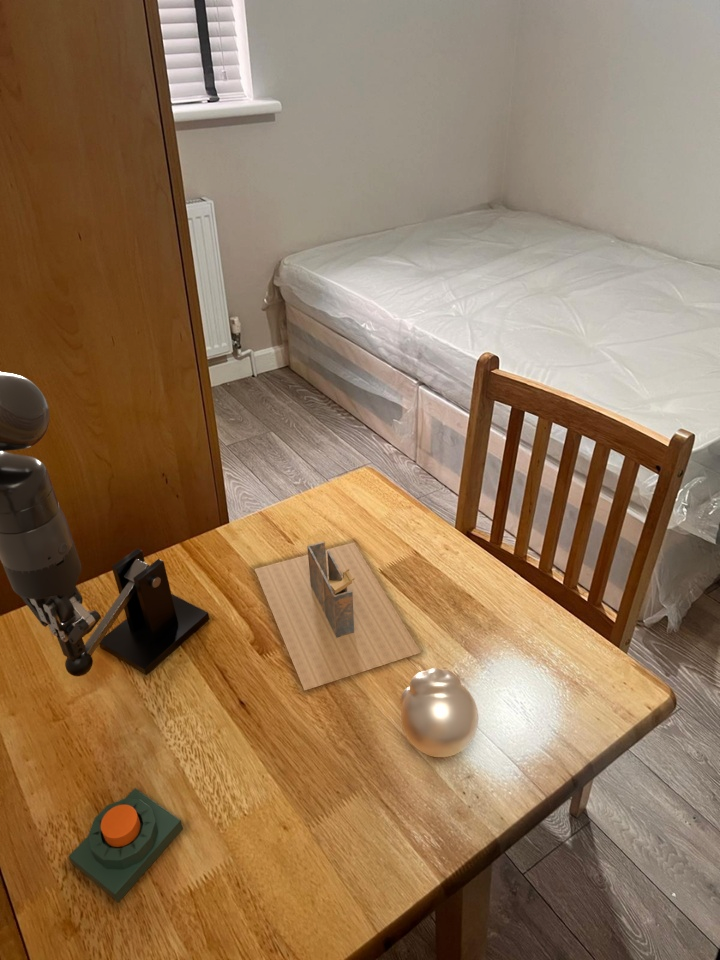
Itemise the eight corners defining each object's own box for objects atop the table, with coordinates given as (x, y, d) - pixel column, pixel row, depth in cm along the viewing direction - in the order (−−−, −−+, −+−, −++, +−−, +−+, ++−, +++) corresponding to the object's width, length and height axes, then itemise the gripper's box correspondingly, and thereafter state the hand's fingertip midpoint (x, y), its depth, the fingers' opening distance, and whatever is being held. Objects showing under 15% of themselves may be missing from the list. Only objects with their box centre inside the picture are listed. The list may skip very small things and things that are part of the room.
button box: (118, 903, 72) (110, 885, 70) (72, 864, 75) (63, 846, 73) (183, 828, 78) (178, 810, 76) (138, 796, 81) (131, 777, 79)
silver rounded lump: (475, 707, 90) (480, 651, 84) (476, 776, 82) (482, 720, 77) (401, 701, 91) (402, 646, 85) (396, 769, 83) (396, 713, 78)
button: (121, 854, 73) (117, 844, 72) (96, 835, 74) (92, 826, 73) (147, 825, 75) (144, 815, 74) (124, 807, 77) (120, 797, 76)
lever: (87, 683, 91) (71, 676, 88) (70, 673, 92) (54, 665, 89) (161, 574, 96) (149, 564, 94) (144, 566, 98) (131, 555, 95)
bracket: (146, 675, 95) (126, 605, 88) (100, 648, 99) (77, 578, 92) (209, 619, 103) (195, 550, 96) (164, 595, 108) (147, 527, 100)
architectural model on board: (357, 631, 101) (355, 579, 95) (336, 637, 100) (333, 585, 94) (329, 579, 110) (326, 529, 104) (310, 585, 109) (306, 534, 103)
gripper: (-31, 544, 80) (16, 651, 90) (46, 588, 74) (86, 698, 84) (27, 509, 85) (65, 614, 95) (103, 547, 79) (136, 655, 89)
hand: (75, 653), depth 90 cm, fingers closed
